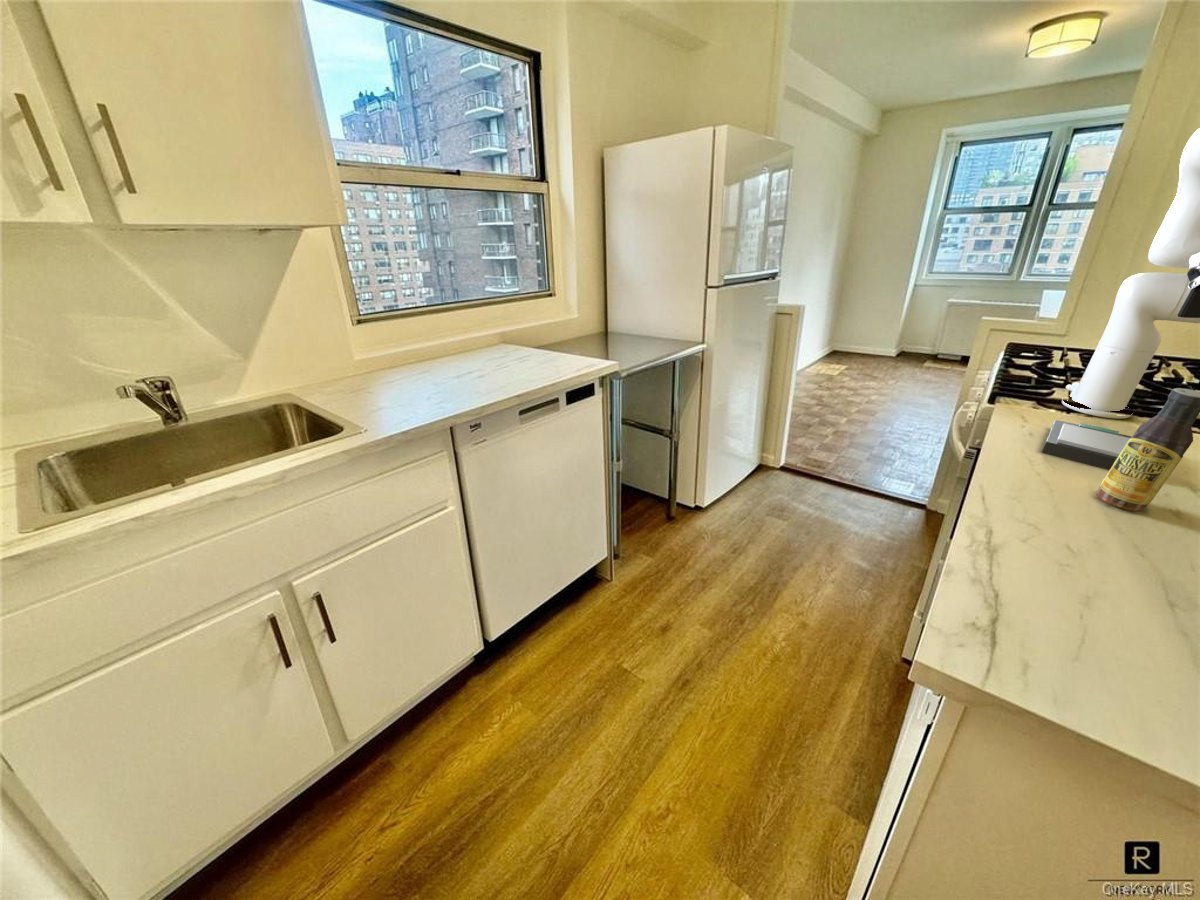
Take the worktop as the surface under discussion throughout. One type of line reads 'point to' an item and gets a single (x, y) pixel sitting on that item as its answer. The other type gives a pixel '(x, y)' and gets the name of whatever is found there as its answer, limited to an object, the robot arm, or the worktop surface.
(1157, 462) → the sauce bottle
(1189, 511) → the worktop surface
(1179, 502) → the worktop surface
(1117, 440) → the scale
